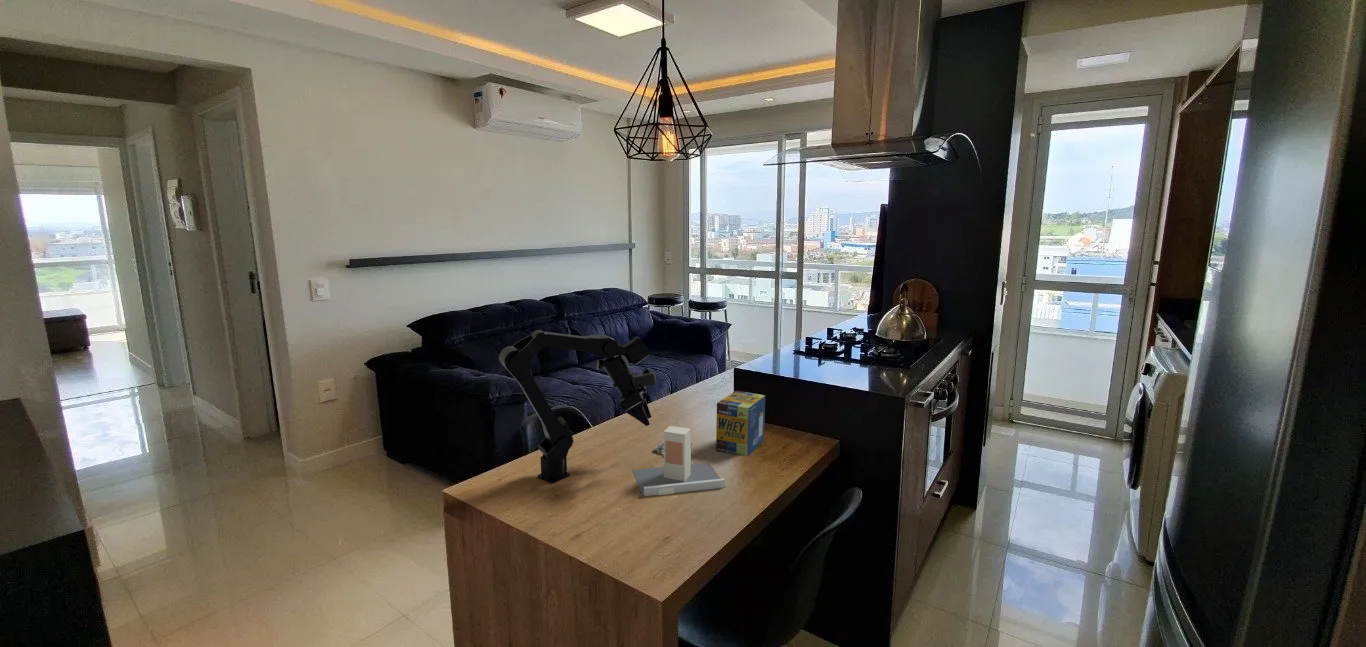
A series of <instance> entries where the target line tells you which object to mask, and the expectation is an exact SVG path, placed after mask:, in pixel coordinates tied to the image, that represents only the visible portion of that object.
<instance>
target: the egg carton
mask: <svg viewBox="0 0 1366 647" xmlns="http://www.w3.org/2000/svg"><path fill="white" fill-rule="evenodd" d="M692 445H693V444H692V443H691V446H692ZM653 450H655V451H656V453H657V454H659V455H660V454H661V455H662V456H664V442H662V443H660V444H656V445H655V447H654V448H653Z"/></svg>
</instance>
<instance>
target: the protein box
mask: <svg viewBox="0 0 1366 647" xmlns="http://www.w3.org/2000/svg"><path fill="white" fill-rule="evenodd" d="M765 417H766V395H764V394H758V393H753V392H747V391H741V390H734V391H733V392H732V393H730V394H728V395H727V396H725V397H724V398H723V399H721V400H719V401H717V403H716V426H715V427H716V435H715V438H716V441H715V442H716V443H715V444H716V445H715V446H716V447H715V448H716V452H721V453H727V454H730V455H735V456H736V455H737V456H744V457H749V456H750V455H751V454H752V453H753V452H754V451H755V450H756V449H757V448H758V447H760V445H761V444H762V443H763V442H765V422H766V421H765Z"/></svg>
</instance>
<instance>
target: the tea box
mask: <svg viewBox="0 0 1366 647" xmlns="http://www.w3.org/2000/svg"><path fill="white" fill-rule="evenodd" d="M691 434H692V429H691V428H688V427H680V426H673V425H670V426H668V427H667V428H666V429H665V430H664V431H663V443H664V450H663V452H664V455H663V467H664V478H669V479H675V480H681V481H685V480H686V479H687V478H688V477H689V476H690V474H691V464H692V462H691V460H692V458H691V454H692V453H691V450H692V445H691V444H692V439H691V438H692V435H691Z"/></svg>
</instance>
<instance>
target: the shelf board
mask: <svg viewBox="0 0 1366 647" xmlns="http://www.w3.org/2000/svg"><path fill="white" fill-rule="evenodd" d="M632 472H633V475H634V477H635V479H636V482H637V485H638V488H639V491H640V494H641V496H642V497H652V496H665V495H674V494H678V493H687V492H697V491H704V490H705V491H706V490H714V489H721V488H727V486H726V485H725V482H726V481H725V478H720V476H719V474H718V473H717V472H716V470H715V469H714V467H713V466H712V465H711V462H709V461H708V462H698V463H691V474H690V476H689V477H688V478H687V479H686V480H685V481H681V480H675V479H669V478H664V466H659V467H651V468H650V467H649V468H648V467H646V468H638V469H632Z"/></svg>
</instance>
